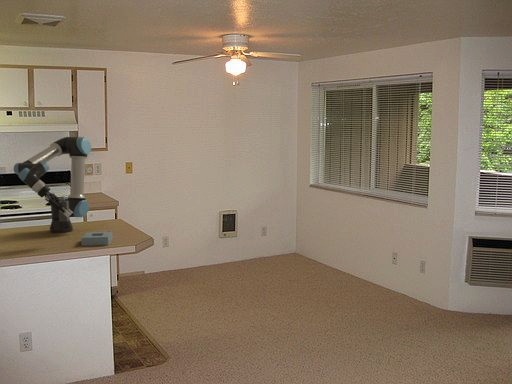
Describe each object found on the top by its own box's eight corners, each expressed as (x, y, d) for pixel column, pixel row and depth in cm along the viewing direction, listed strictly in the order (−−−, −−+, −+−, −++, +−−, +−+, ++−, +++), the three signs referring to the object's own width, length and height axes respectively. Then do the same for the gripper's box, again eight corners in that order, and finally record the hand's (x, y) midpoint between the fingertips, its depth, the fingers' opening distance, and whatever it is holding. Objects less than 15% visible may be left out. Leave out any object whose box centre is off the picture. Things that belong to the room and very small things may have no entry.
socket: (87, 239, 370) (86, 232, 369) (112, 239, 371) (112, 231, 370) (81, 245, 354) (81, 237, 353) (108, 245, 355) (107, 237, 354)
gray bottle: (61, 220, 359) (59, 196, 357) (69, 219, 360) (68, 195, 357) (59, 221, 354) (57, 197, 352) (67, 221, 355) (66, 197, 352)
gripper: (41, 191, 362) (69, 216, 366) (32, 195, 344) (62, 222, 348) (49, 182, 362) (77, 208, 365) (41, 186, 344) (71, 213, 348)
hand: (70, 214), depth 357 cm, fingers closed on gray bottle, 5 cm apart
